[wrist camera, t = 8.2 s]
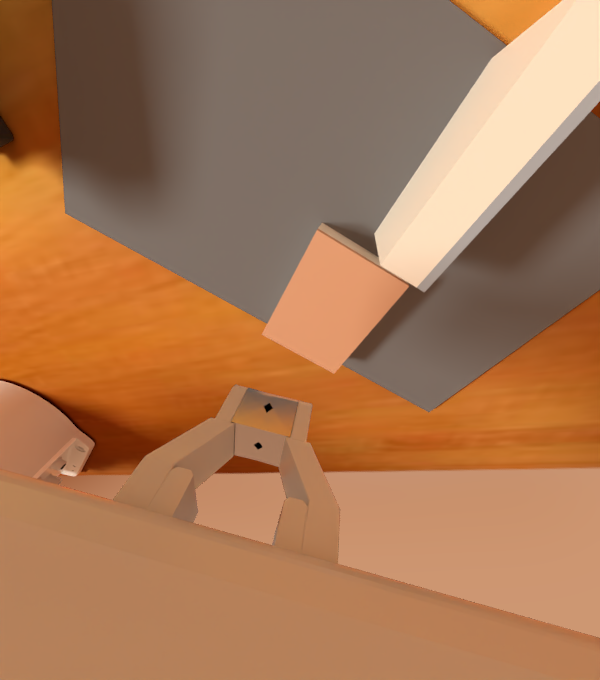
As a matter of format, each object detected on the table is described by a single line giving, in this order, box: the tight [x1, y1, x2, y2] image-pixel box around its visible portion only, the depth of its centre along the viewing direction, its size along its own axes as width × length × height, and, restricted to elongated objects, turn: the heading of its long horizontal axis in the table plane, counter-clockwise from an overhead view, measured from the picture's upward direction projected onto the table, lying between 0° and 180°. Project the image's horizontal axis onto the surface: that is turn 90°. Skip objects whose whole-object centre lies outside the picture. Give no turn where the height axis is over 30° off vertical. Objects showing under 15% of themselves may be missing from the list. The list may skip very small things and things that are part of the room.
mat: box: [52, 0, 600, 412], centre depth 16 cm, size 18×32×1 cm, turn 62°
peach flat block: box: [262, 223, 409, 373], centre depth 17 cm, size 8×2×6 cm
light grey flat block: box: [374, 0, 600, 292], centre depth 11 cm, size 8×2×6 cm, turn 152°
